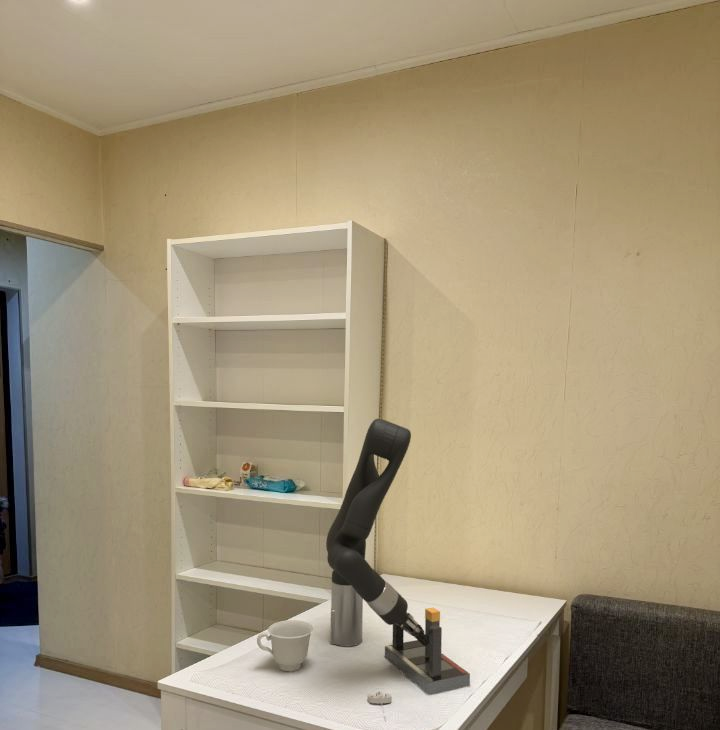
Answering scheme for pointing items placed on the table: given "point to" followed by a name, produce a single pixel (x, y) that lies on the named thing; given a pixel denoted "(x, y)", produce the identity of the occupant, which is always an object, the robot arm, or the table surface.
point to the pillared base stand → (426, 663)
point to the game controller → (379, 698)
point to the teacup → (288, 643)
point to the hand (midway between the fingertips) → (426, 642)
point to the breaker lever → (430, 623)
